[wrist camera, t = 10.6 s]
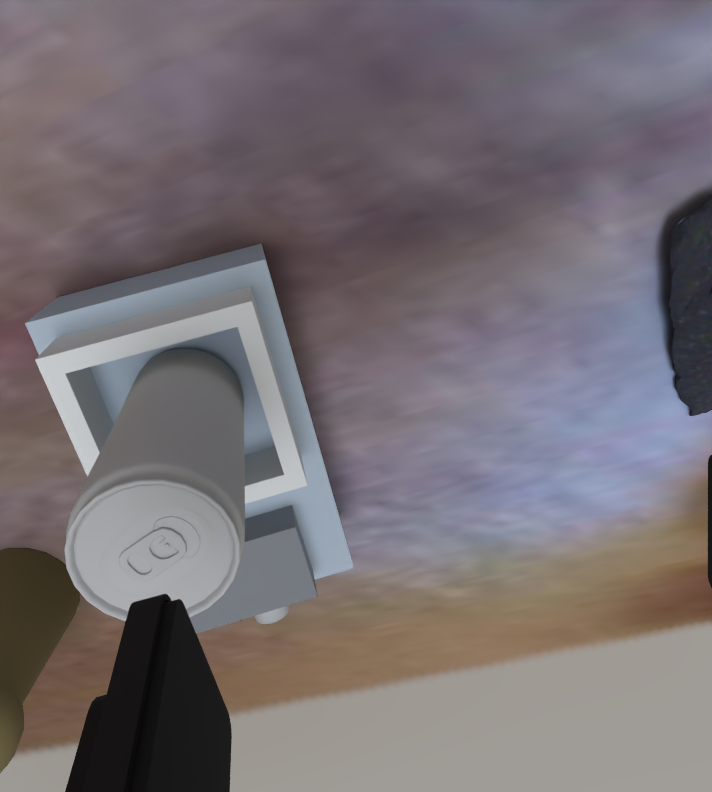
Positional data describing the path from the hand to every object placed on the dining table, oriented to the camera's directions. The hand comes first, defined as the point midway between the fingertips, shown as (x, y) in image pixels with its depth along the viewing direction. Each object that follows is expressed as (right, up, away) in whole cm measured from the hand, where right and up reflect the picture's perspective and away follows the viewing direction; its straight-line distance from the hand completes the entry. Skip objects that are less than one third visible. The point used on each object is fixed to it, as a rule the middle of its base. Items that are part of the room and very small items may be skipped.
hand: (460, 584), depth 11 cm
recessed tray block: (-9, +1, +24) cm, 25 cm away
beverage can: (-9, +3, +18) cm, 20 cm away
